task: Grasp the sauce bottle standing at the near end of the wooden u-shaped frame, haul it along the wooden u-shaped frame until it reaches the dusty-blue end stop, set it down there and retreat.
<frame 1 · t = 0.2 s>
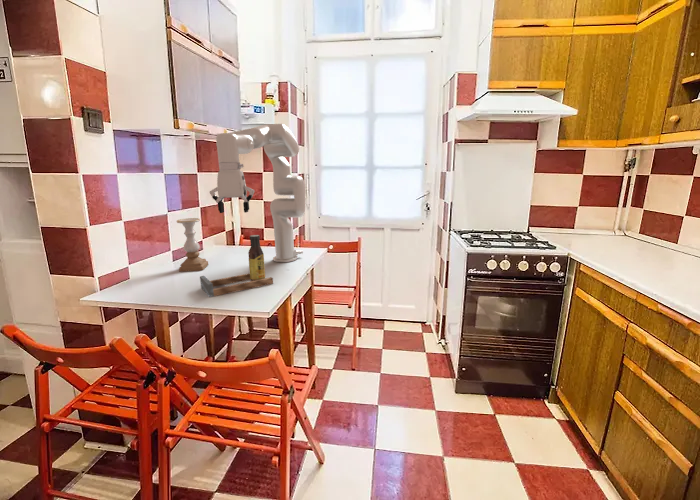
hand: (234, 212, 143), 30 cm above the table, tool pointing down, fingers open, 9 cm apart
sauce bottle: (258, 282, 155), resting on wooden u-shaped frame
candle holder: (194, 268, 179), on the table
wooden u-shaped frame: (239, 285, 151), on the table
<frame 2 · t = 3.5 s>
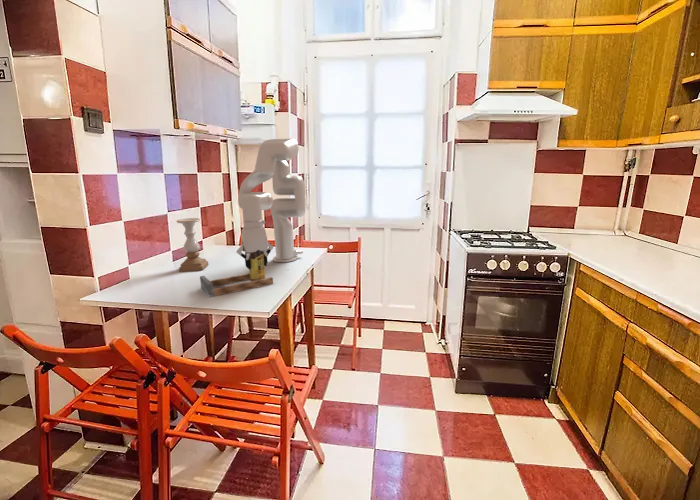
hand: (256, 266, 154), 7 cm above the table, tool pointing down, fingers closed on sauce bottle, 6 cm apart
sauce bottle: (258, 282, 155), resting on wooden u-shaped frame, touching gripper
everything else where it was.
when the fingers open (7 cm above the table, at t = 9.2 s): sauce bottle stays where it is, resting on wooden u-shaped frame.
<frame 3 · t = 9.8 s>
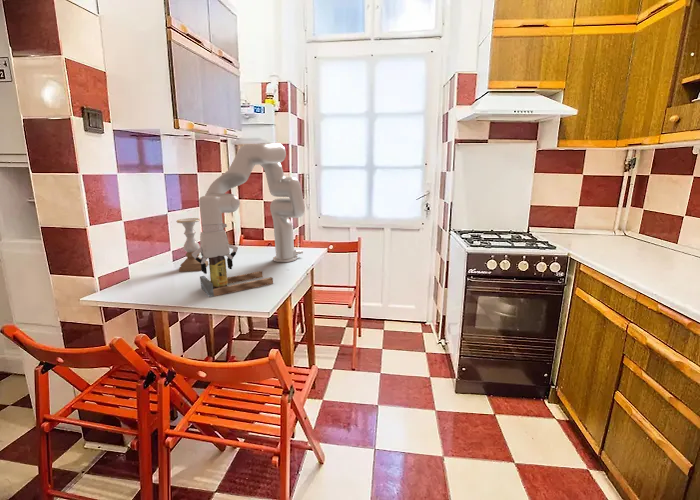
hand: (217, 270, 145), 8 cm above the table, tool pointing down, fingers open, 9 cm apart
sauce bottle: (220, 289, 147), resting on wooden u-shaped frame
everything else where it was.
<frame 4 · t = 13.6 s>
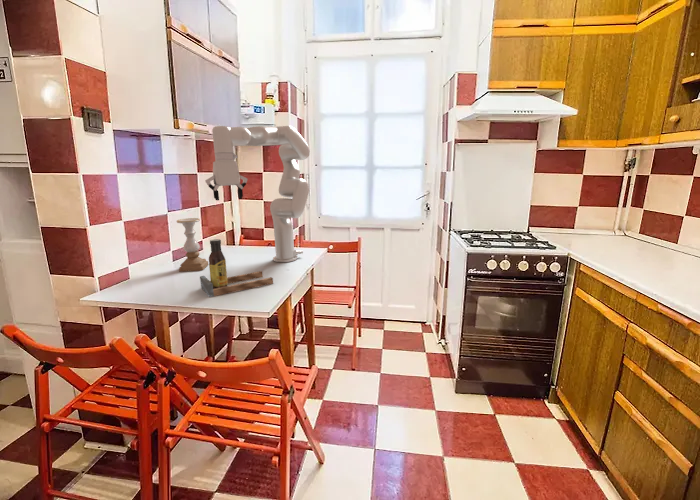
hand: (228, 199, 155), 34 cm above the table, tool pointing down, fingers open, 9 cm apart
nothing on the table moved.
at the end: sauce bottle inside the target area on the wooden u-shaped frame (1.0 cm from its centre), point 0.1 cm above the wooden u-shaped frame's base; sauce bottle tilted 0°; the gripper is holding nothing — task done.
